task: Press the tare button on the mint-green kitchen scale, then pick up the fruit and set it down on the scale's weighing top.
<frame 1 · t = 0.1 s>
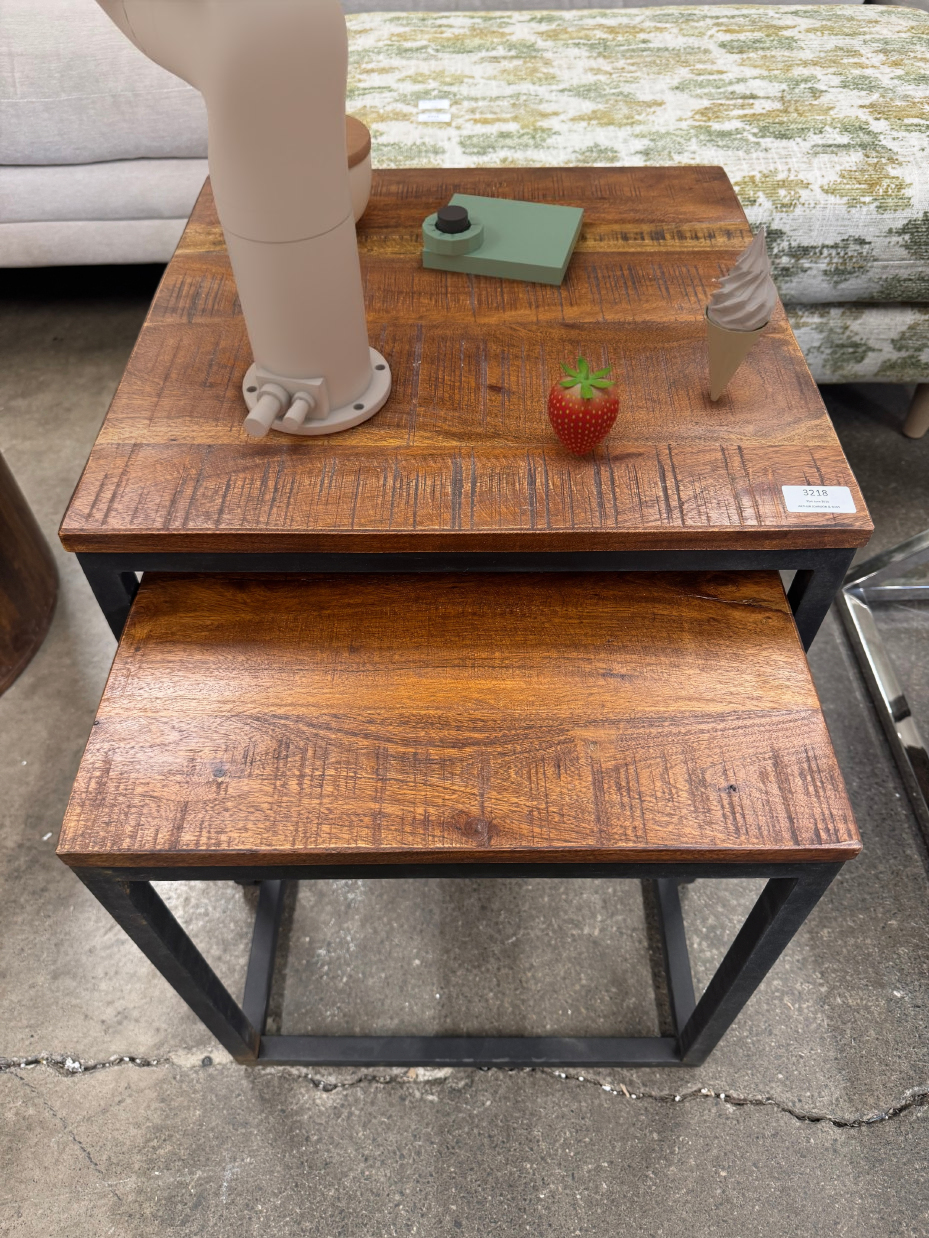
fruit: (577, 450, 68), on the table
scale: (504, 246, 87), on the table
tare button: (452, 220, 83), point 4 cm above the table, slide at 0.1 cm
ice cream cone: (713, 401, 71), on the table
lidded bowl: (320, 229, 90), on the table
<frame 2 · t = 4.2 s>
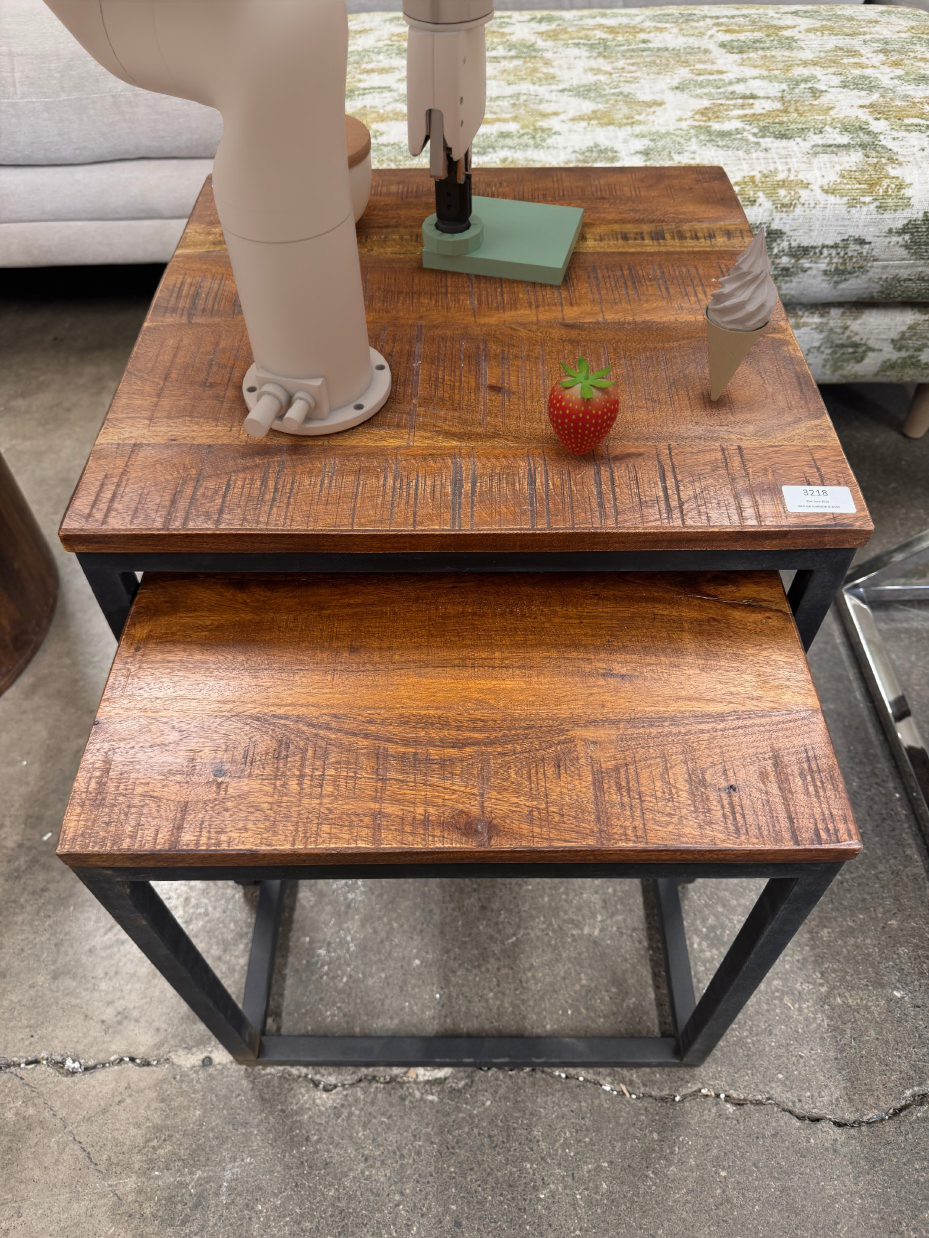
hand: (454, 217, 83), 4 cm above the table, tool pointing down, fingers closed
tare button: (452, 227, 83), point 3 cm above the table, slide at -0.5 cm, touching gripper
everything else where it was.
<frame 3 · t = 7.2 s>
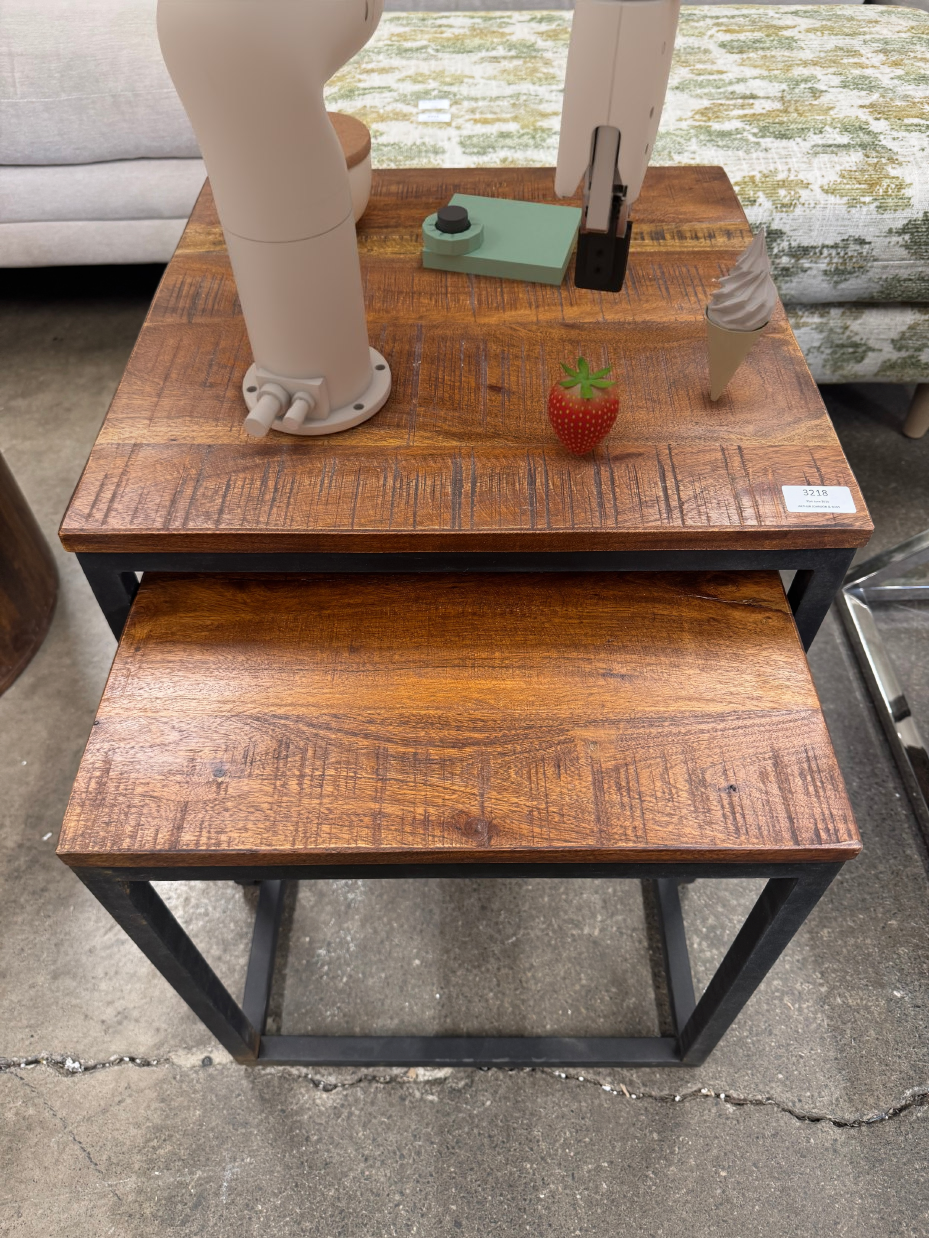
hand: (599, 282, 57), 14 cm above the table, tool pointing down, fingers closed
tare button: (452, 220, 83), point 4 cm above the table, slide at 0.1 cm
everything else where it was.
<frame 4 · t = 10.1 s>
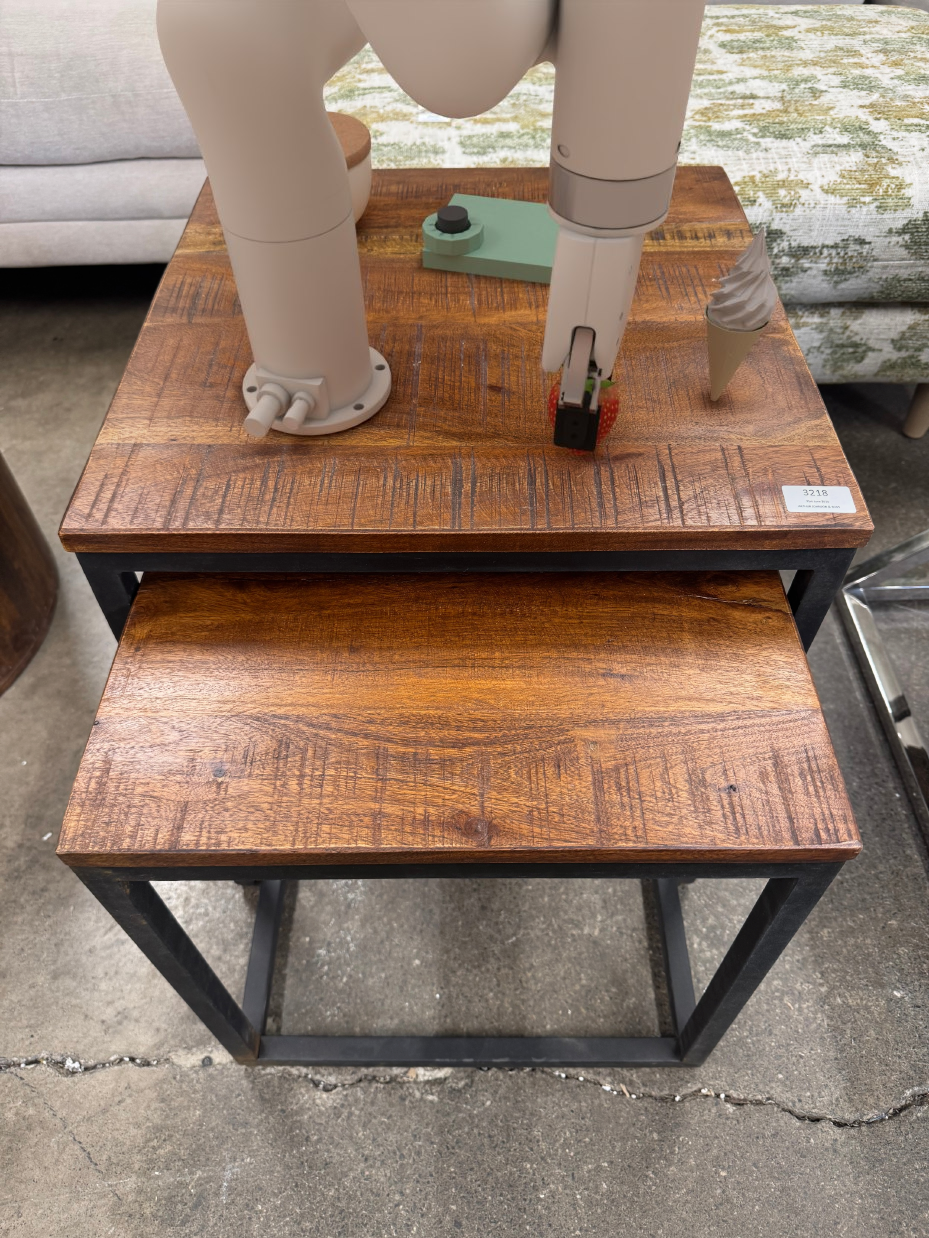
hand: (581, 420, 65), 3 cm above the table, tool pointing down, fingers closed on fruit, 5 cm apart
fruit: (577, 450, 68), on the table, touching gripper
everything else where it was.
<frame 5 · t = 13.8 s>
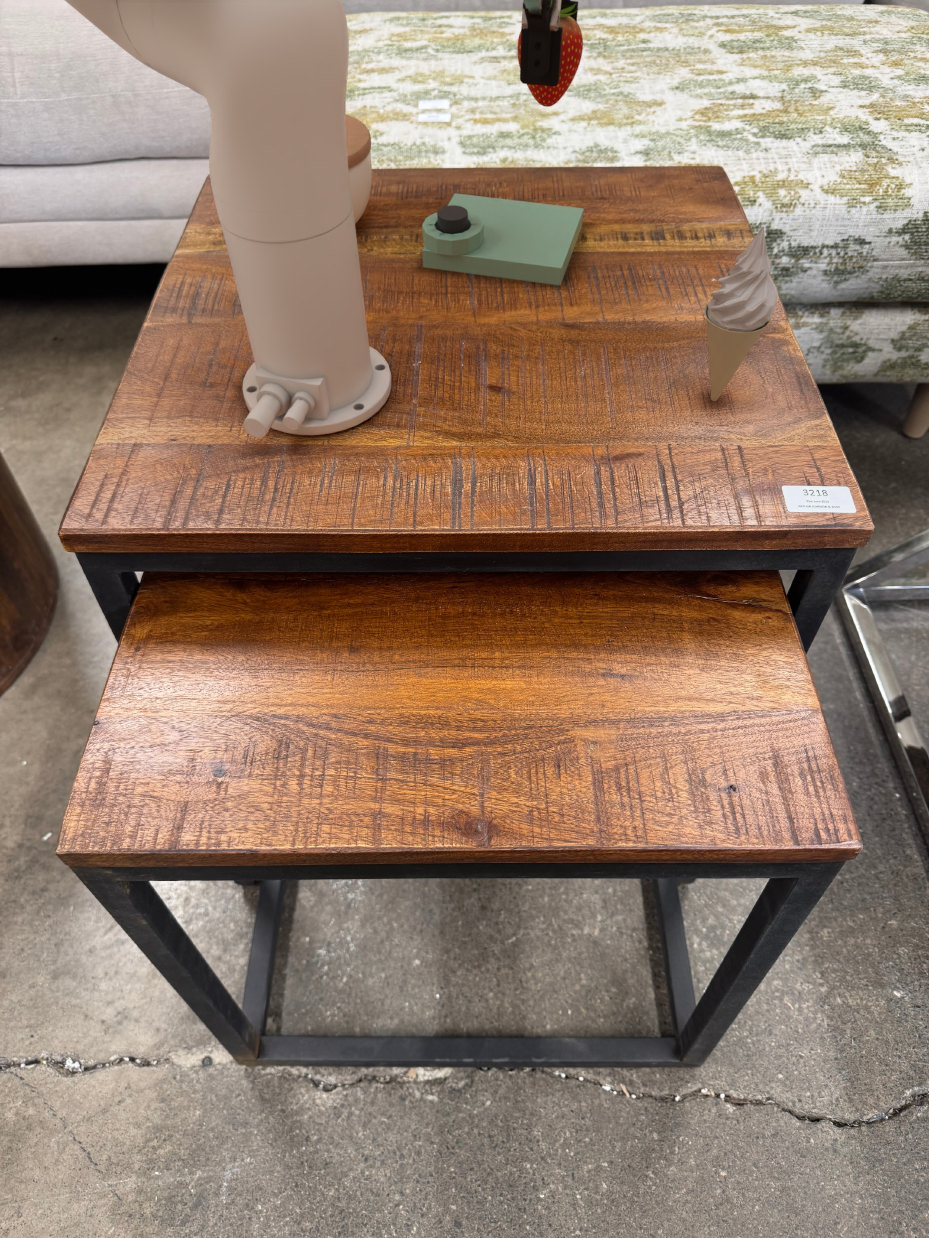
hand: (547, 67, 71), 18 cm above the table, tool pointing down, fingers closed on fruit, 5 cm apart
fruit: (546, 106, 73), point 15 cm above the table, touching gripper
everything else where it was.
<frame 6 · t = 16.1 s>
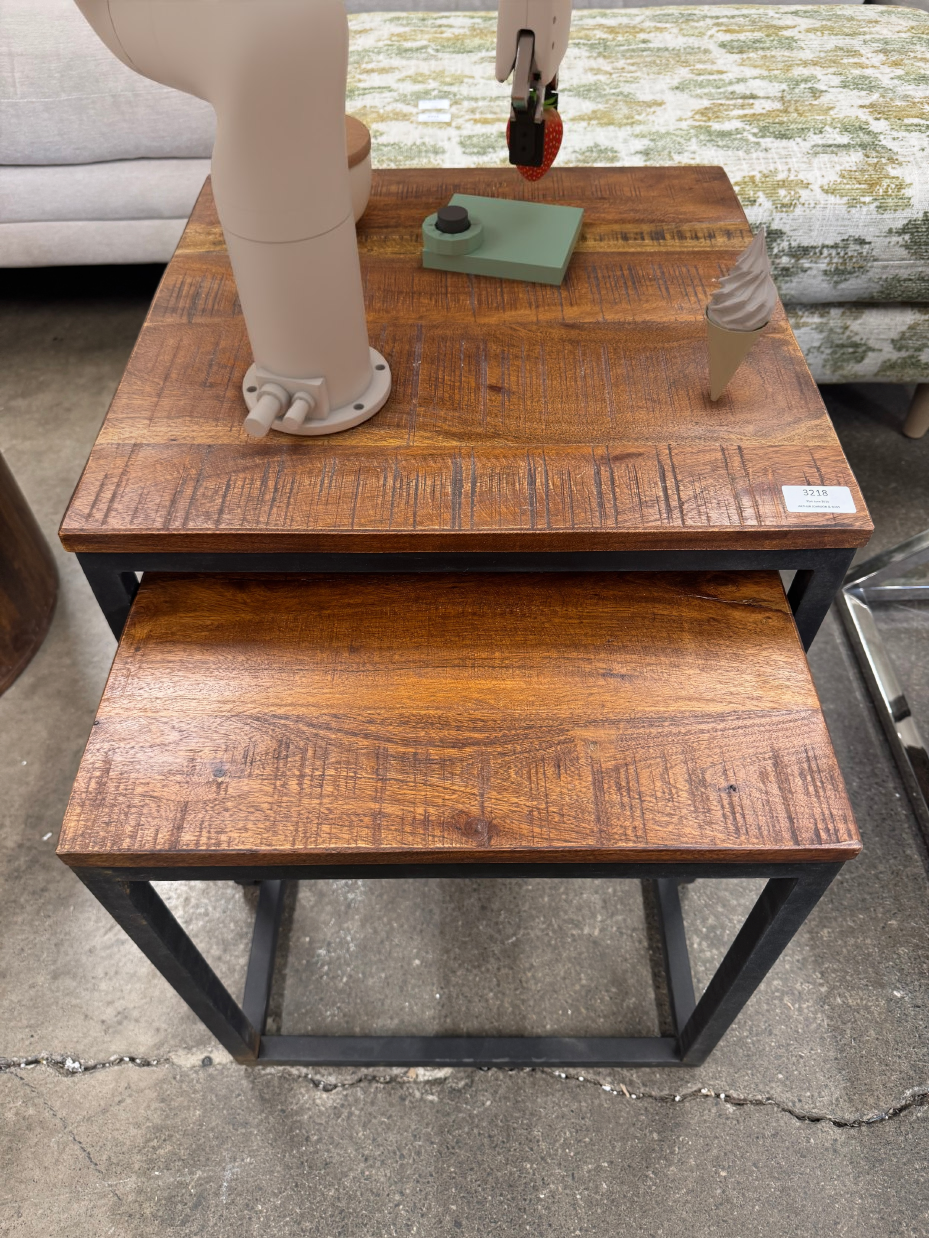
hand: (532, 148, 81), 9 cm above the table, tool pointing down, fingers closed on fruit, 5 cm apart
fruit: (532, 181, 83), point 6 cm above the table, touching gripper
everything else where it was.
when the fingers open (5 cm above the table, at t = 17.8 s): fruit stays where it is, resting on scale.
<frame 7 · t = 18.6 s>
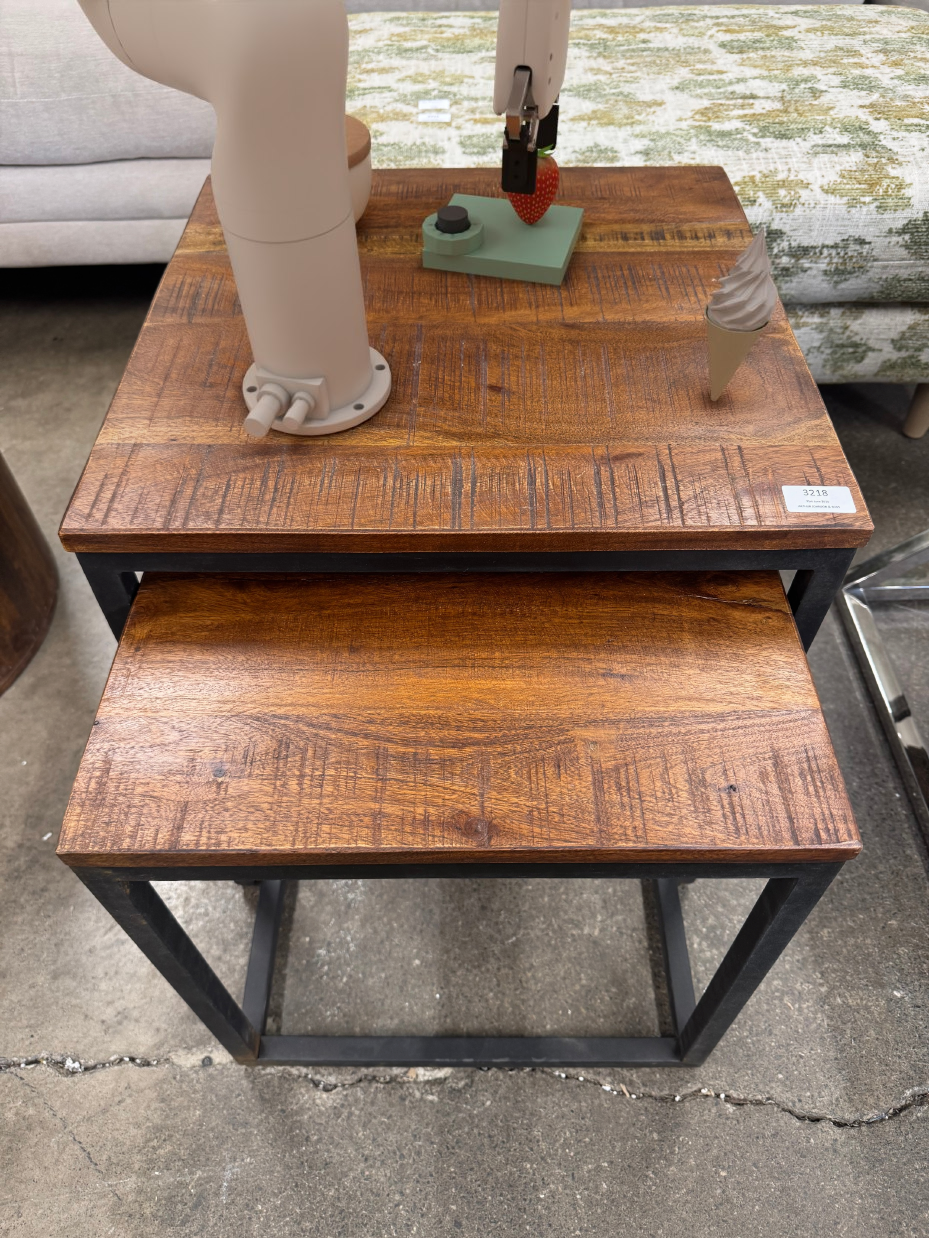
hand: (529, 169, 82), 7 cm above the table, tool pointing down, fingers open, 9 cm apart
fruit: (529, 223, 86), point 2 cm above the table, touching scale
everything else where it was.
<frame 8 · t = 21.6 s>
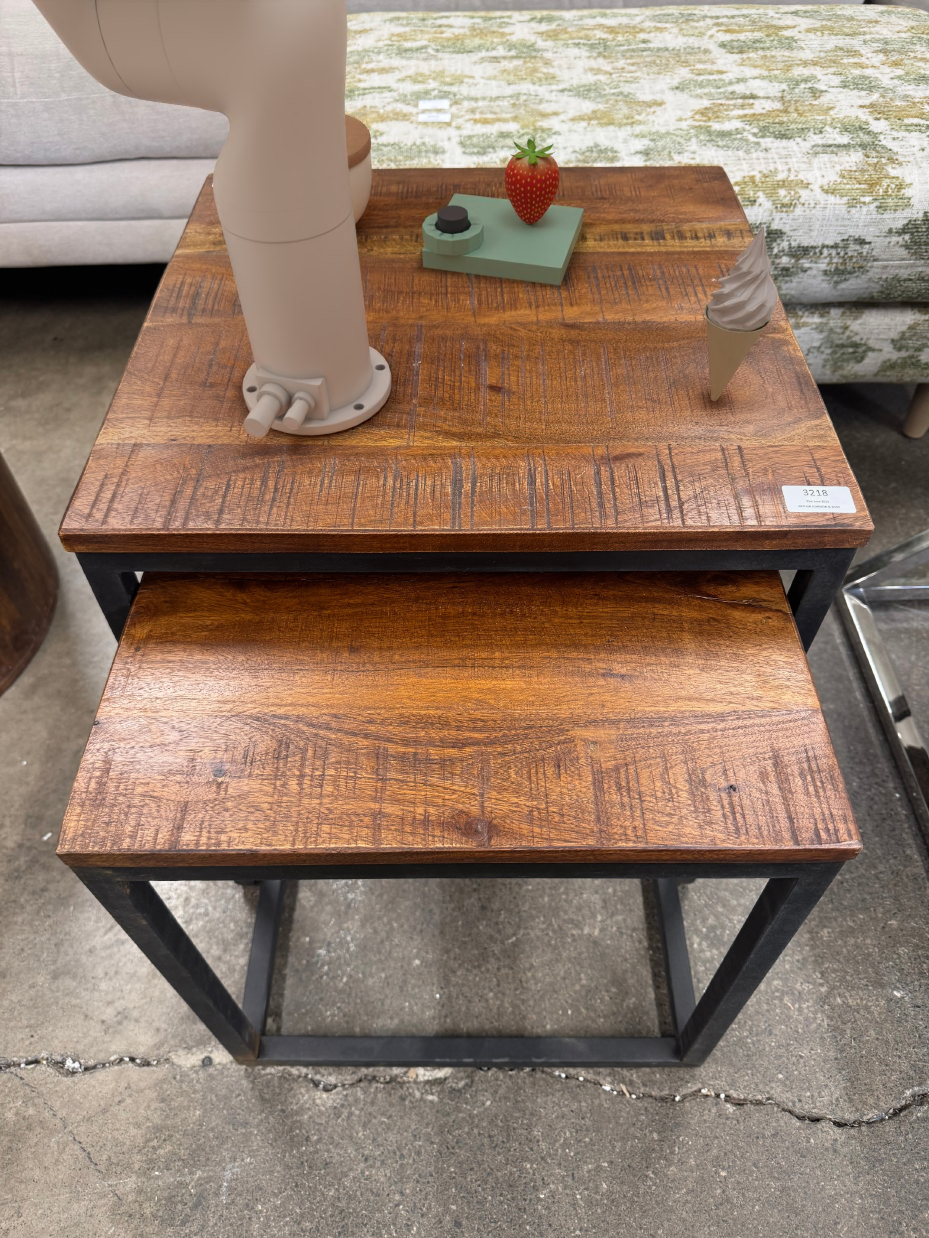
nothing on the table moved.
at the end: tare button pushed in 0.9 cm at the most during the clip, back to where it started at the end; tare button slide at 0.1 cm; fruit inside the target area on the scale (2.9 cm from its centre), point 1.7 cm above the scale's base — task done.
